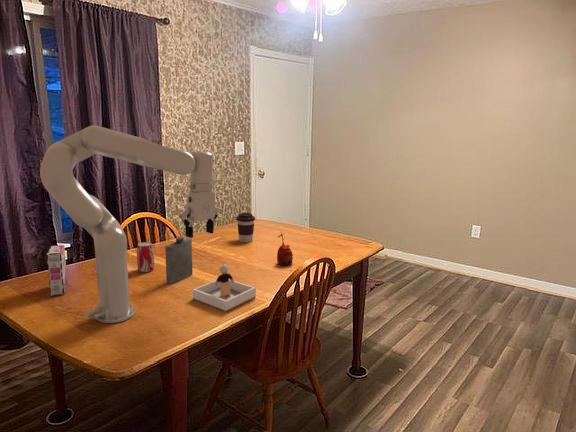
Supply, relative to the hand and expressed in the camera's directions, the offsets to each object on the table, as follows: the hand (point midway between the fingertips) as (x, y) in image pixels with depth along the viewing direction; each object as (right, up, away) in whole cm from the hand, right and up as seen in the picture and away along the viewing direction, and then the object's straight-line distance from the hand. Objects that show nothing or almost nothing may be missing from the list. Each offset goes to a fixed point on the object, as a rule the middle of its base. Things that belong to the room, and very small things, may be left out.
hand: (199, 234), depth 154 cm
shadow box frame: (+8, -24, +8) cm, 27 cm away
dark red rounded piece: (+30, -16, +48) cm, 59 cm away
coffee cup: (+8, -7, +82) cm, 83 cm away
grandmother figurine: (+8, -24, +8) cm, 26 cm away
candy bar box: (-56, -22, +12) cm, 61 cm away
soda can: (-30, -17, +35) cm, 49 cm away
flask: (-13, -20, +26) cm, 35 cm away
